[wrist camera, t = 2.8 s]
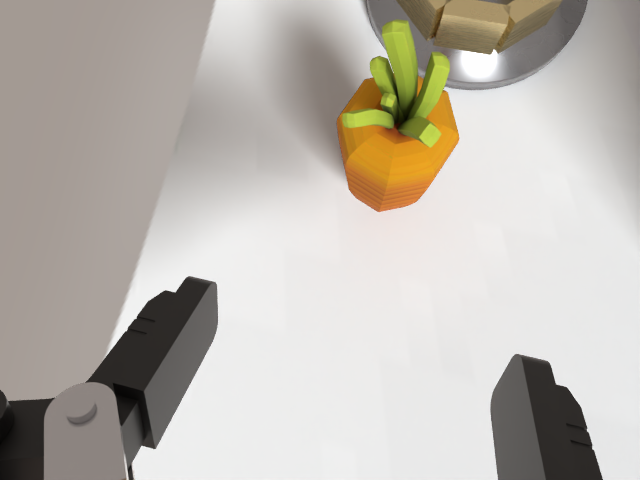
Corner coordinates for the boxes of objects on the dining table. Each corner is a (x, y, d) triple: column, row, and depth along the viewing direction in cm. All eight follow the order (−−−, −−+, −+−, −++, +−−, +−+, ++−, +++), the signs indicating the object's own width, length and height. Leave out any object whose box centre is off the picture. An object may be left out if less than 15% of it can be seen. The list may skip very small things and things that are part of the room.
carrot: (413, 242, 27) (487, 156, 13) (333, 227, 28) (315, 127, 13) (426, 165, 28) (511, -1, 13) (348, 152, 29) (347, -22, 14)
